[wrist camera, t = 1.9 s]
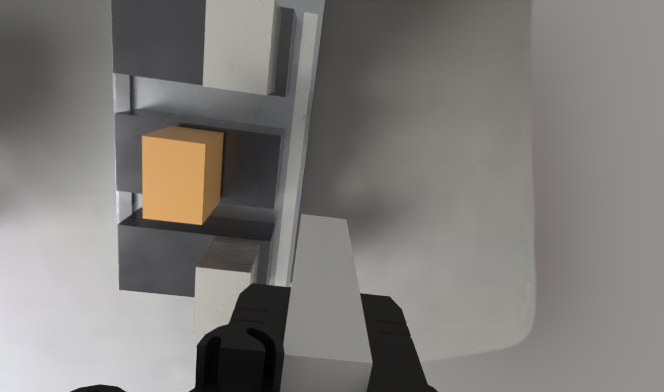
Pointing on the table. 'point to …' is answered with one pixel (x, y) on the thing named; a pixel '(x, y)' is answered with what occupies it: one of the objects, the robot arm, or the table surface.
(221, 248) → the breaker panel
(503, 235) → the table surface
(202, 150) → the toggle
